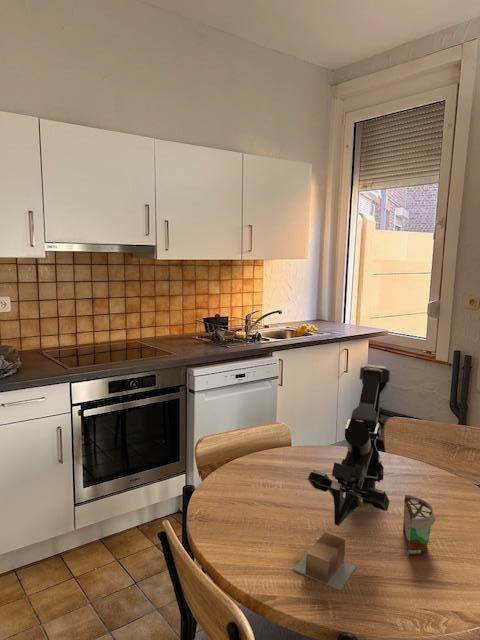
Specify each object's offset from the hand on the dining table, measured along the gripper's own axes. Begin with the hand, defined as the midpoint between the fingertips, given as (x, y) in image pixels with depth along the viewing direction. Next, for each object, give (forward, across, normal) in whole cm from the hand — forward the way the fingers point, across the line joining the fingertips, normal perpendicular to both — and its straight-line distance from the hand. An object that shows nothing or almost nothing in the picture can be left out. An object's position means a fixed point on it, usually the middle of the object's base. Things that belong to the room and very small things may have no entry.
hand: (336, 524), depth 109 cm
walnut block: (+4, 0, +3) cm, 5 cm away
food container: (-5, +15, +17) cm, 23 cm away
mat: (+10, 0, +1) cm, 10 cm away
